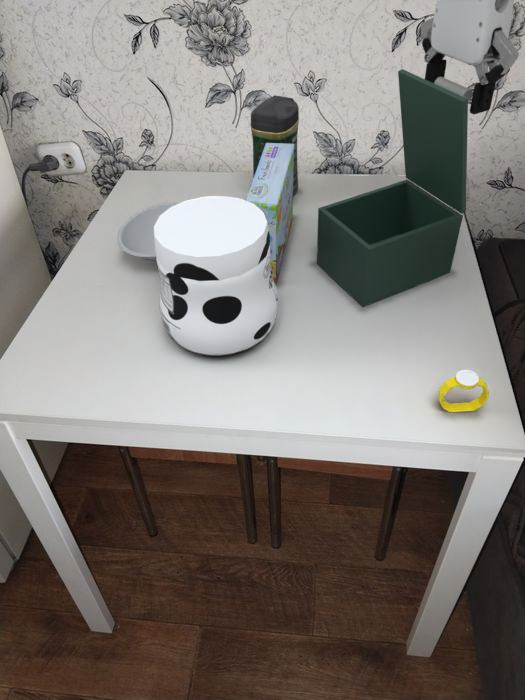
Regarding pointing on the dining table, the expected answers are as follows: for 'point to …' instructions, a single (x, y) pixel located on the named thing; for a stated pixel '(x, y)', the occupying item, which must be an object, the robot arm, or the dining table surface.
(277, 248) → the snack box
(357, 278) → the bin
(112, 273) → the dining table surface
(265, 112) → the coffee jar
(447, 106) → the bin lid
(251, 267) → the doce de leite jar
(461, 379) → the watch
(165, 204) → the dish
